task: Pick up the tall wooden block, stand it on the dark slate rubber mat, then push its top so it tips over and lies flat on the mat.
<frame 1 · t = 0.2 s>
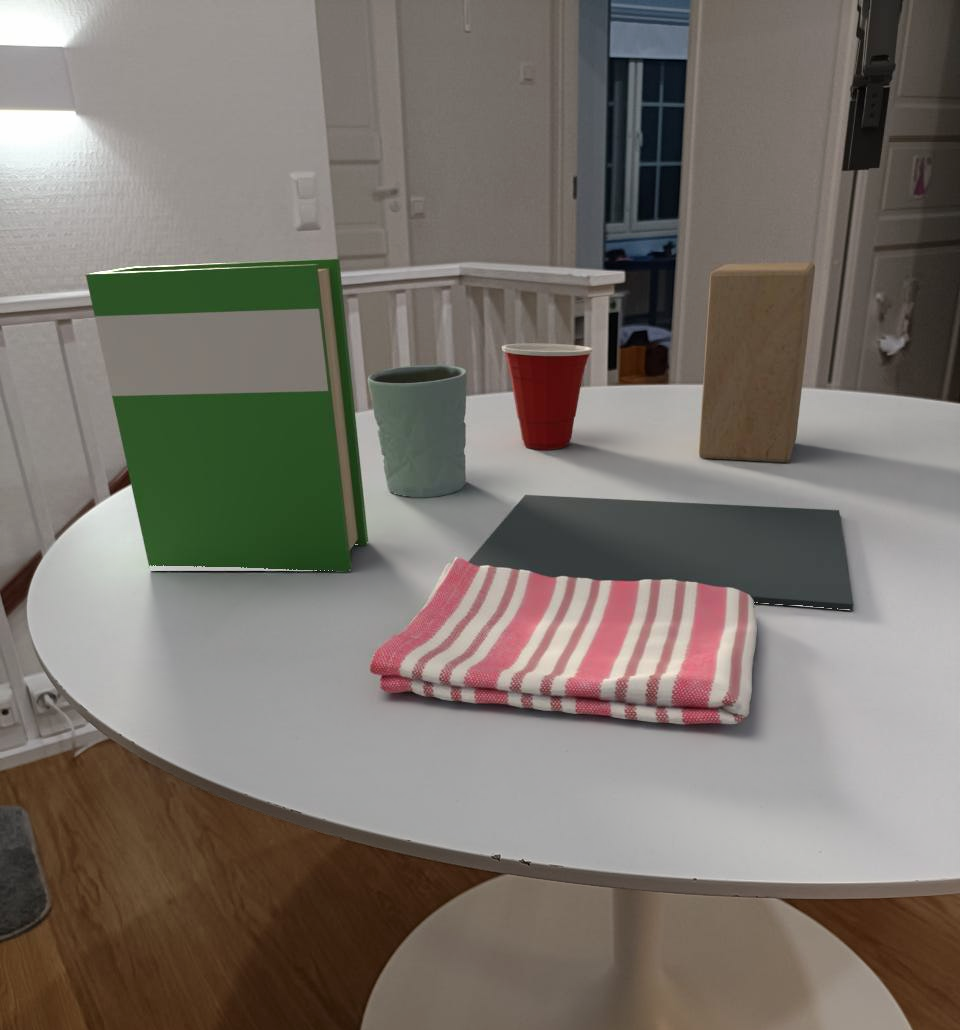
hand: (859, 170, 91), 29 cm above the table, tool pointing down, fingers open, 13 cm apart
plastic cup: (548, 445, 113), on the table
dish towel: (575, 657, 61), on the table
wooden block: (747, 452, 107), on the table
green ceramic cup: (425, 488, 99), on the table
mat: (660, 546, 79), on the table
hardback book: (262, 558, 81), on the table
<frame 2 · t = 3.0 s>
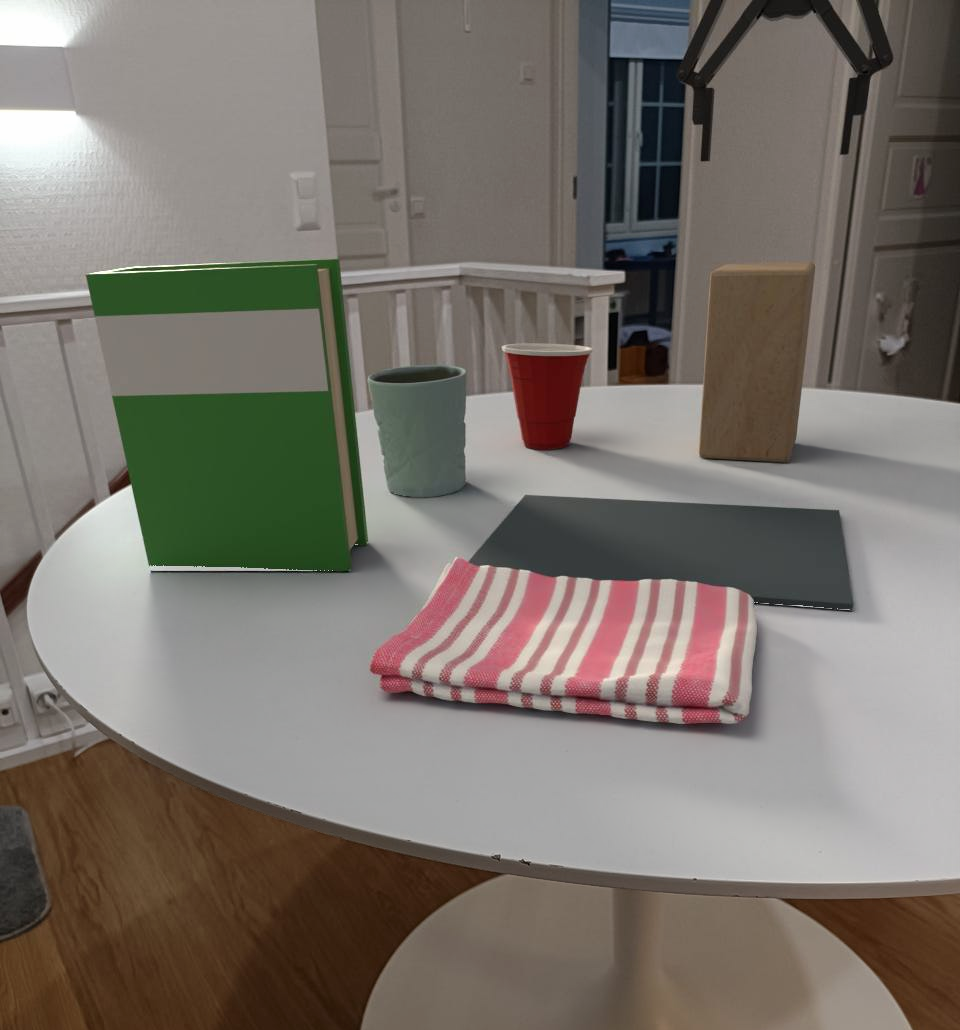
hand: (773, 158, 93), 30 cm above the table, tool pointing down, fingers open, 13 cm apart
nothing on the table moved.
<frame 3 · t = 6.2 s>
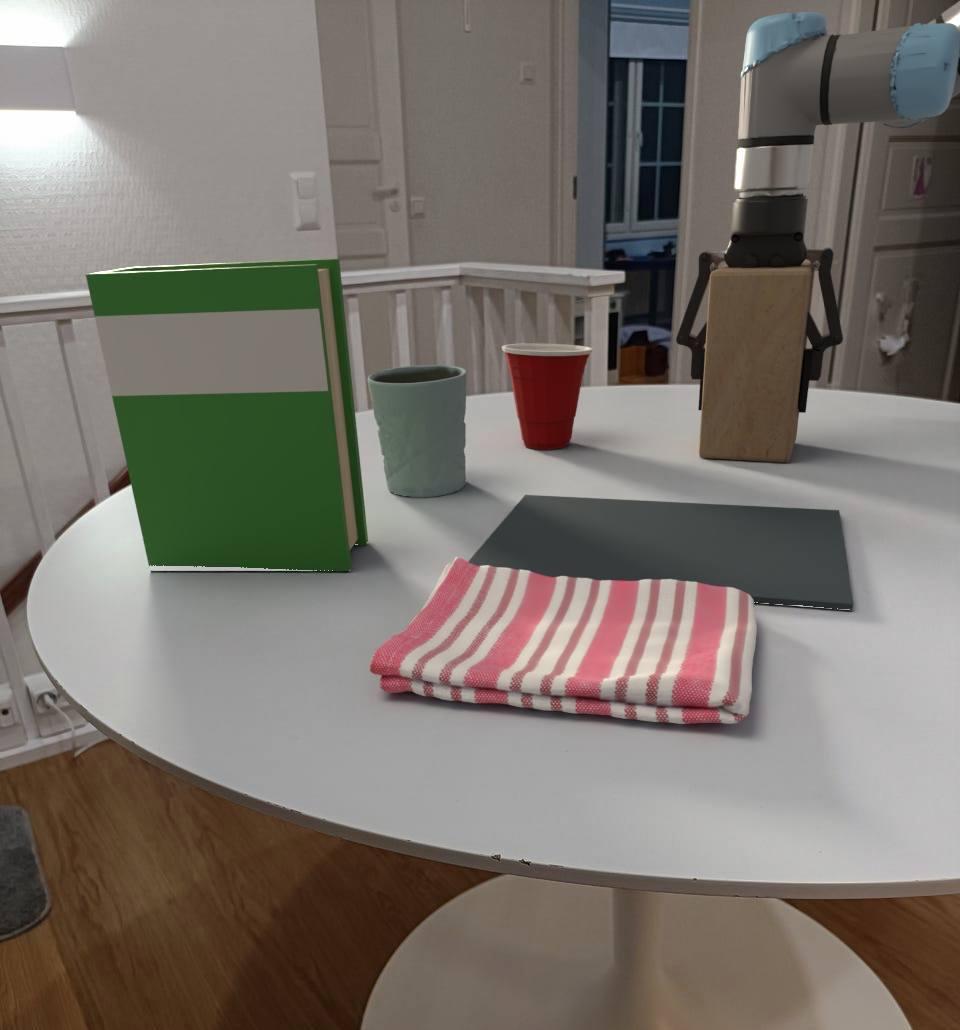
hand: (751, 409, 104), 5 cm above the table, tool pointing down, fingers closed on wooden block, 10 cm apart
wooden block: (747, 452, 106), on the table, touching gripper
everything else where it was.
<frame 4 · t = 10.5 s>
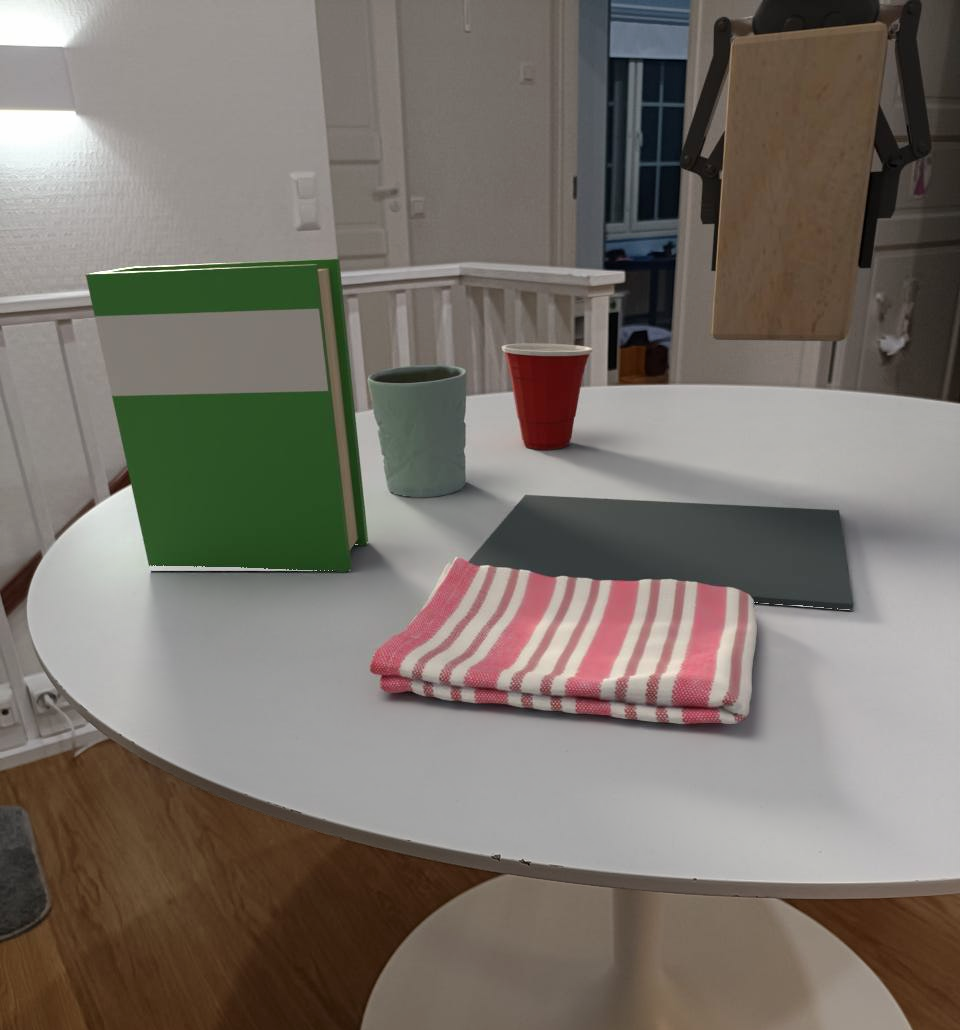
hand: (789, 268, 71), 22 cm above the table, tool pointing down, fingers closed on wooden block, 10 cm apart
wooden block: (782, 335, 73), point 17 cm above the table, touching gripper
everything else where it was.
when the fingers open (5 cm above the table, at t = 15.2 s): wooden block stays where it is, resting on mat.
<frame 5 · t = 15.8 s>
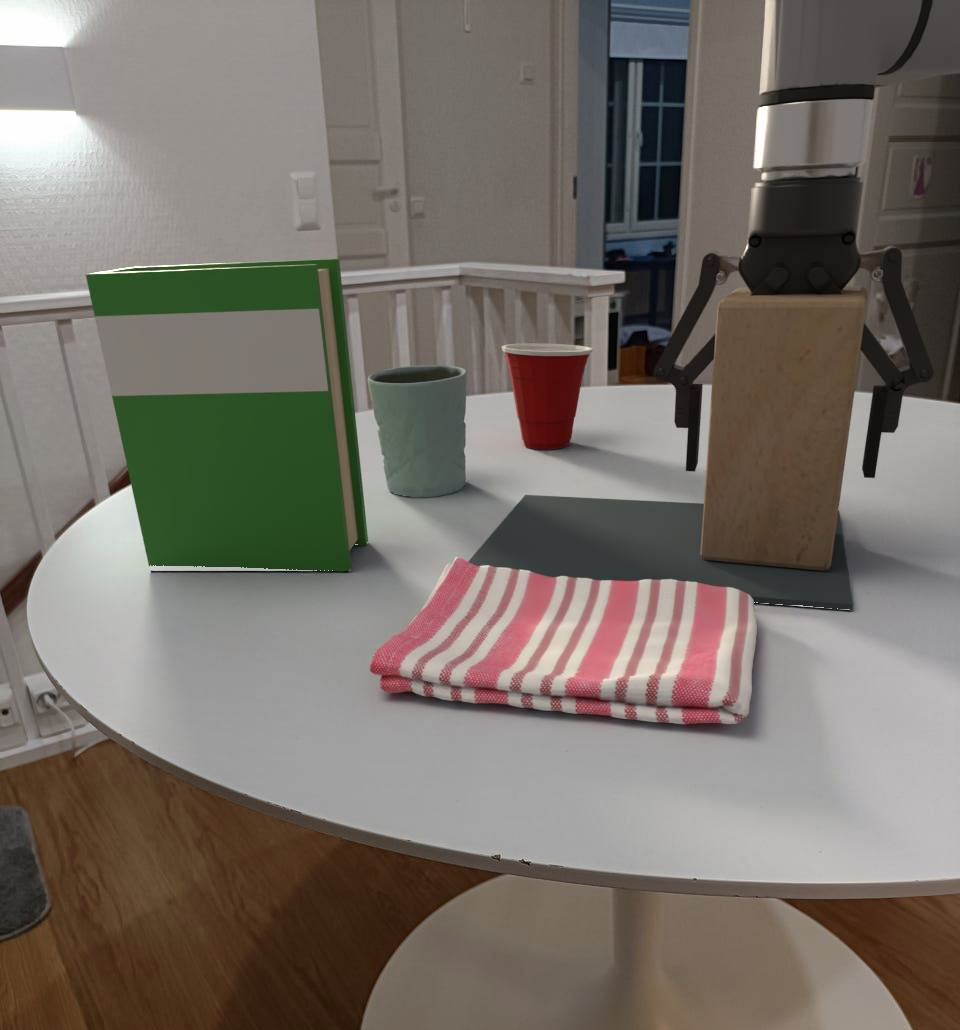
hand: (777, 470, 73), 7 cm above the table, tool pointing down, fingers open, 13 cm apart
wooden block: (768, 548, 76), resting on mat
everything else where it was.
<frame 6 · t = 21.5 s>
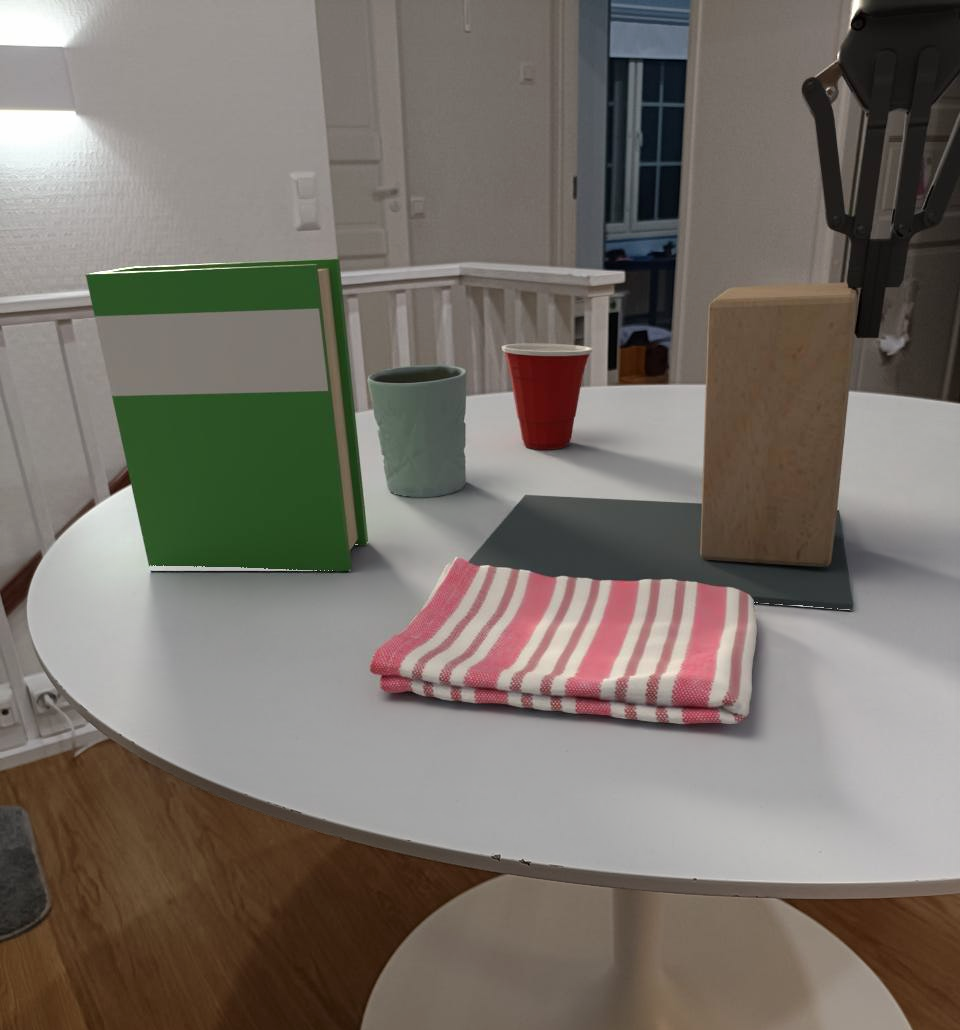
hand: (866, 335, 67), 18 cm above the table, tool pointing down, fingers closed
wooden block: (769, 546, 76), point 1 cm above the table, touching gripper, mat
everything else where it was.
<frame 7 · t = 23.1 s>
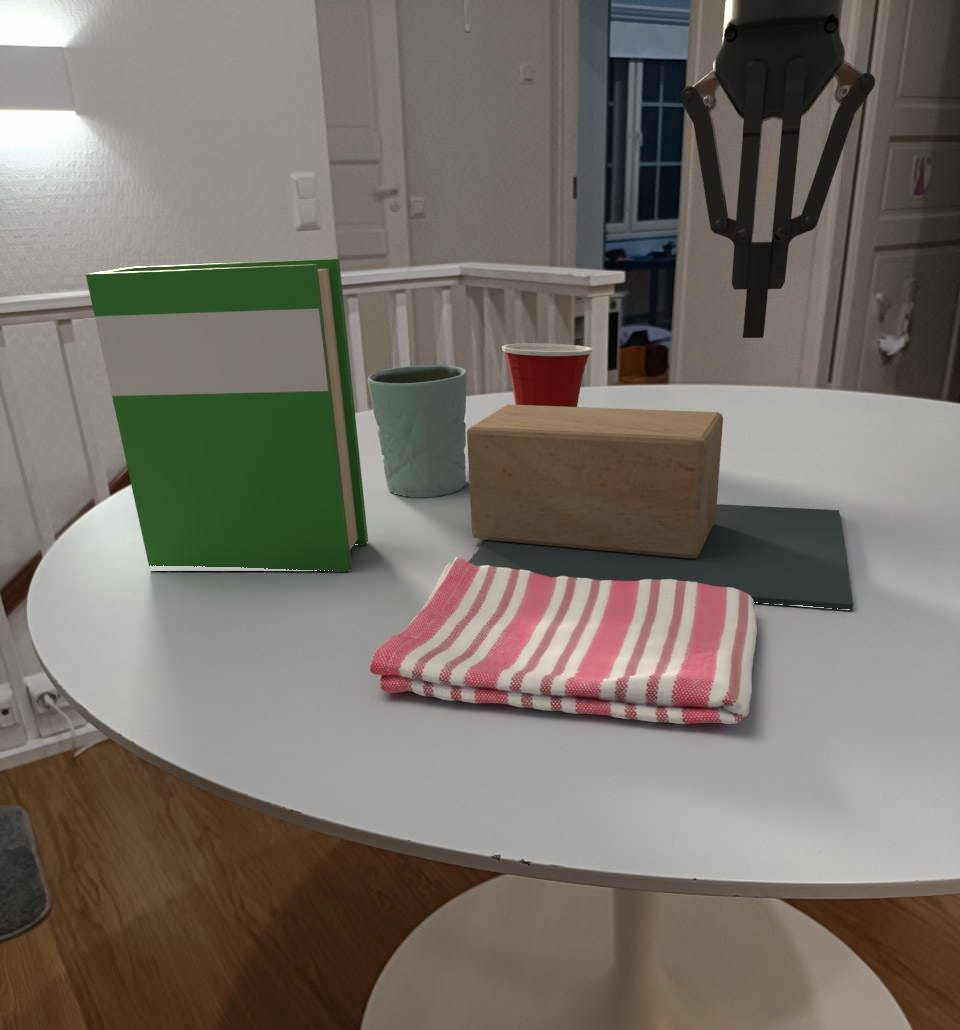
hand: (753, 335, 70), 18 cm above the table, tool pointing down, fingers closed
wooden block: (714, 484, 76), point 6 cm above the table, touching mat
everything else where it was.
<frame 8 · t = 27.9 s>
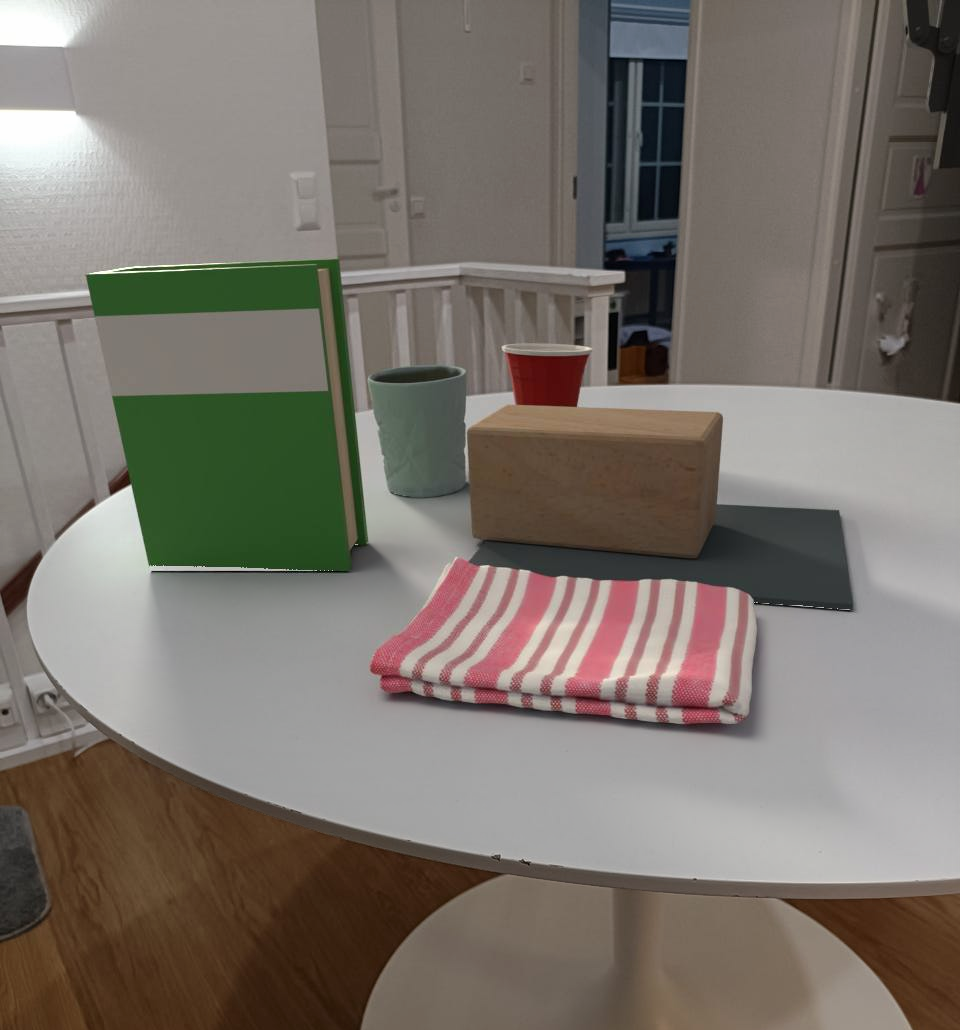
hand: (947, 168, 62), 28 cm above the table, tool pointing down, fingers closed
nothing on the table moved.
at the end: wooden block tilted 90°; wooden block inside the target area on the mat (8.1 cm from its centre), point 5.6 cm above the mat's base; wooden block moved 34.2 cm from its start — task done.
